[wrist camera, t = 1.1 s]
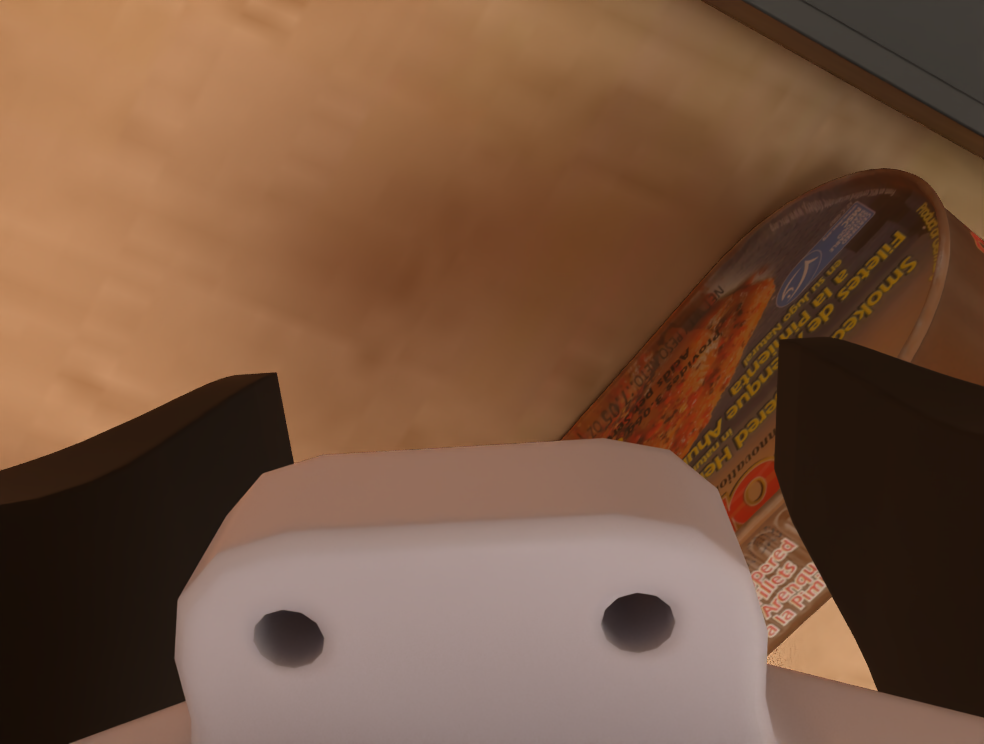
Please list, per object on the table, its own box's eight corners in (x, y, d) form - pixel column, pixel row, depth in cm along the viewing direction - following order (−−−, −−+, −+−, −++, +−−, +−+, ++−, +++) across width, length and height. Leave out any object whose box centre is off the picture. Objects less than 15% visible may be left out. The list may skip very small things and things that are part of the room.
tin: (830, 132, 21) (1017, 212, 13) (926, 215, 21) (1159, 339, 13) (444, 566, 25) (409, 815, 18) (532, 623, 26) (536, 888, 18)
